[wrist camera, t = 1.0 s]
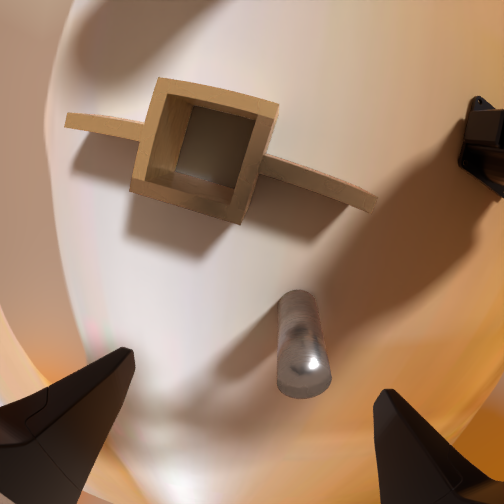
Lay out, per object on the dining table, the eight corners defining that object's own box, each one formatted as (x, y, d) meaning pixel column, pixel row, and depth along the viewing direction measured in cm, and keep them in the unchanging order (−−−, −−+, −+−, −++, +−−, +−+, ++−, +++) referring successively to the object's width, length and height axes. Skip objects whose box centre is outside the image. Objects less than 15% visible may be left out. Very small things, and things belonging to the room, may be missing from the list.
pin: (322, 296, 21) (341, 368, 14) (307, 326, 22) (317, 402, 15) (285, 285, 21) (289, 356, 14) (272, 316, 22) (269, 392, 15)
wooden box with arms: (371, 150, 17) (401, 153, 13) (339, 236, 20) (357, 264, 15) (108, 81, 17) (68, 71, 12) (89, 160, 19) (48, 168, 14)
